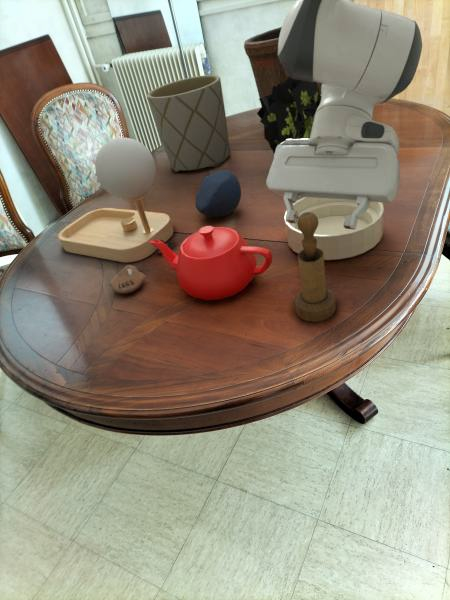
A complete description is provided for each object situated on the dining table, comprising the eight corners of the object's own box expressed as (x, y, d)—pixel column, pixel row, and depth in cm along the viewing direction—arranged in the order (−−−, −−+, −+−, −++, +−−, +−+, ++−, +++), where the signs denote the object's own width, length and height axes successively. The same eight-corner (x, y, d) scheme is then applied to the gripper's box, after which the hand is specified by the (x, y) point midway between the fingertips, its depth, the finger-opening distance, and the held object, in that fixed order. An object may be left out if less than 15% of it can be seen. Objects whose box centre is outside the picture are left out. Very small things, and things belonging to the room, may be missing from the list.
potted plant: (365, 153, 121) (311, 57, 113) (380, 160, 100) (315, 43, 93) (301, 195, 128) (246, 107, 121) (302, 209, 107) (237, 104, 100)
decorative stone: (230, 199, 112) (222, 162, 106) (253, 212, 103) (246, 174, 97) (191, 215, 109) (181, 179, 103) (212, 231, 100) (203, 192, 94)
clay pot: (306, 147, 130) (297, 36, 112) (242, 138, 150) (226, 43, 131) (354, 119, 141) (353, 15, 123) (289, 115, 161) (279, 23, 143)
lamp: (56, 250, 109) (6, 155, 94) (101, 218, 120) (63, 128, 104) (151, 268, 92) (109, 156, 77) (193, 228, 103) (164, 123, 87)
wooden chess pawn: (311, 327, 67) (300, 230, 56) (288, 308, 72) (275, 215, 61) (343, 310, 69) (340, 212, 58) (319, 292, 74) (311, 199, 63)
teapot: (287, 262, 83) (280, 207, 76) (264, 314, 72) (253, 255, 65) (178, 258, 93) (162, 209, 86) (144, 302, 82) (123, 250, 75)
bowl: (380, 211, 91) (381, 185, 88) (385, 261, 77) (386, 233, 73) (292, 217, 97) (289, 193, 93) (282, 264, 83) (278, 238, 79)
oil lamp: (159, 280, 89) (134, 273, 94) (155, 263, 87) (129, 257, 92) (128, 300, 83) (103, 292, 88) (123, 283, 81) (97, 275, 86)
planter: (239, 144, 145) (225, 70, 131) (228, 170, 128) (211, 88, 114) (178, 153, 151) (159, 83, 137) (159, 179, 134) (135, 102, 120)
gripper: (270, 130, 67) (251, 213, 67) (404, 127, 57) (382, 226, 57) (285, 147, 73) (268, 224, 73) (410, 146, 62) (390, 237, 62)
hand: (319, 225), depth 65 cm, fingers open, 8 cm apart
